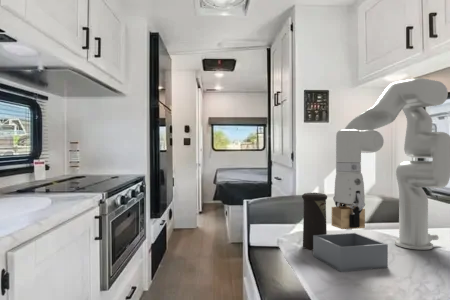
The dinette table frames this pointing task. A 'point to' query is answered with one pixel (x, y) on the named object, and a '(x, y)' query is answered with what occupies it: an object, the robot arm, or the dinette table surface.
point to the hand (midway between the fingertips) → (348, 224)
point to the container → (313, 217)
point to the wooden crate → (345, 217)
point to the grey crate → (350, 251)
